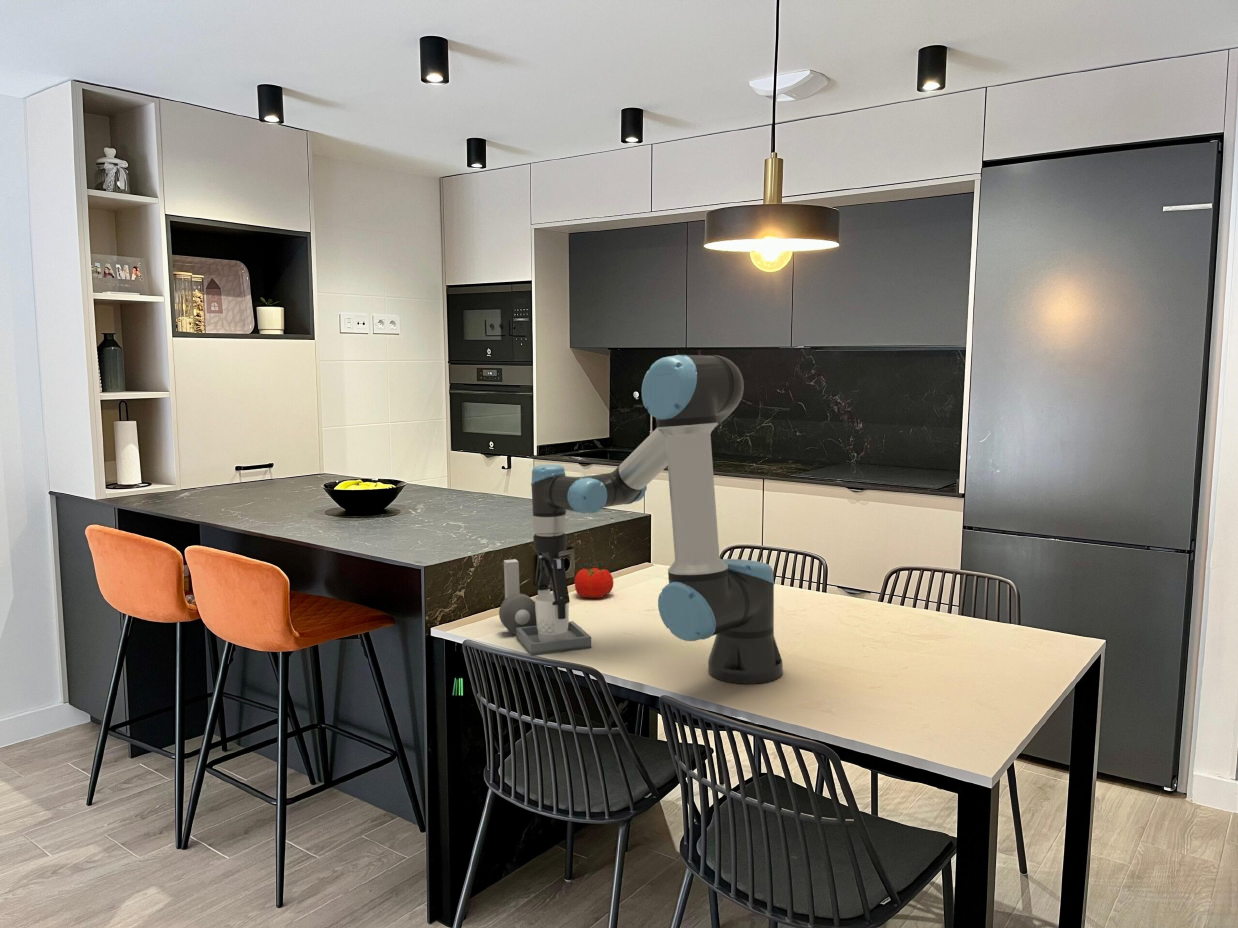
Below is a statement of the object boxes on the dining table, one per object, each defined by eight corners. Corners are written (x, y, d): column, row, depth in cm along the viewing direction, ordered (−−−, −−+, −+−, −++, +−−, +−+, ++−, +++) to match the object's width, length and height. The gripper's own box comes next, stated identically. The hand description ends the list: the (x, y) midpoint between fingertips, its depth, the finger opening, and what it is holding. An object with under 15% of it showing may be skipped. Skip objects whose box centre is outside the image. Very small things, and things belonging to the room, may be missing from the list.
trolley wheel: (541, 633, 216) (539, 567, 214) (504, 637, 213) (502, 571, 211) (529, 620, 227) (527, 558, 225) (494, 625, 224) (491, 561, 222)
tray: (591, 647, 204) (591, 636, 204) (531, 655, 199) (530, 644, 199) (573, 631, 217) (573, 620, 217) (516, 638, 212) (515, 627, 212)
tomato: (620, 594, 252) (619, 567, 251) (598, 603, 243) (598, 575, 242) (588, 589, 258) (588, 563, 257) (566, 598, 248) (565, 571, 248)
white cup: (572, 634, 212) (571, 593, 211) (567, 645, 204) (566, 601, 203) (539, 634, 213) (538, 592, 212) (532, 644, 205) (531, 601, 204)
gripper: (582, 541, 195) (584, 637, 197) (551, 523, 218) (553, 609, 221) (548, 544, 193) (551, 641, 195) (520, 525, 216) (523, 612, 218)
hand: (552, 624), depth 208 cm, fingers open, 13 cm apart
